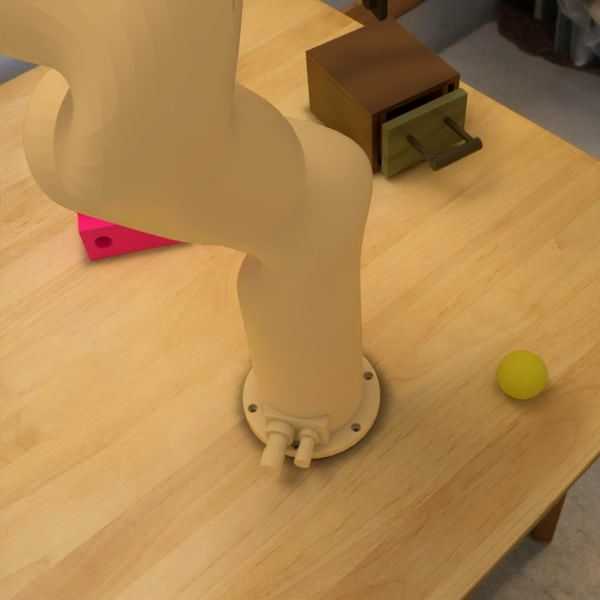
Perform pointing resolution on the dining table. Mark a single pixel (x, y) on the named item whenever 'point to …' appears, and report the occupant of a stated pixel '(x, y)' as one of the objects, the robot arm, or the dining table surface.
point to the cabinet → (372, 79)
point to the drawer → (425, 132)
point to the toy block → (114, 238)
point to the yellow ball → (522, 374)
